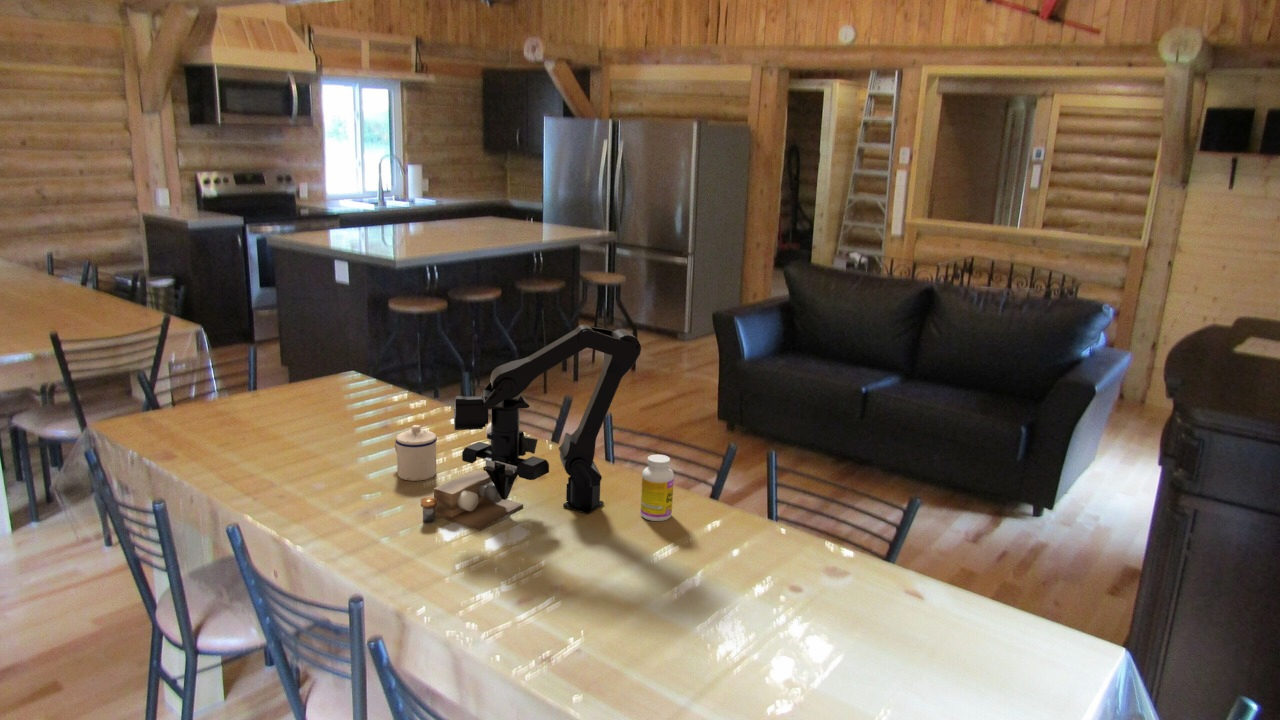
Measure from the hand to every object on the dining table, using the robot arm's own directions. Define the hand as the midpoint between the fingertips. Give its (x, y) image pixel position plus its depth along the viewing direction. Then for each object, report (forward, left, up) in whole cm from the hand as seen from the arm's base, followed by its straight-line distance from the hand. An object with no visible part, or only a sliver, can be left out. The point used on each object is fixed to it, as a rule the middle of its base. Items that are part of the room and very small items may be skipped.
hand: (504, 498), depth 180 cm
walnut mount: (+5, +3, -3) cm, 6 cm away
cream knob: (+8, +6, -1) cm, 10 cm away
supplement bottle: (-27, -17, -3) cm, 32 cm away
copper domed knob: (+9, +13, -3) cm, 16 cm away
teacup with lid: (+30, -4, -3) cm, 31 cm away
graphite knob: (+6, 0, -1) cm, 6 cm away
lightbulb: (+18, -20, -3) cm, 27 cm away
